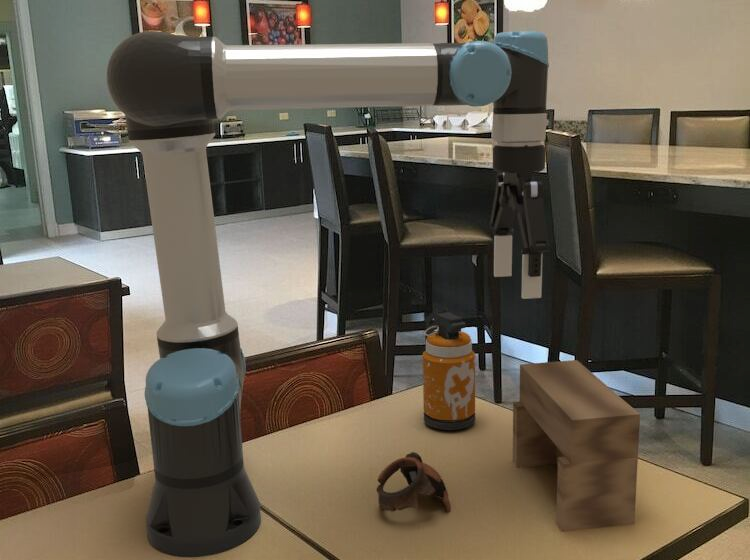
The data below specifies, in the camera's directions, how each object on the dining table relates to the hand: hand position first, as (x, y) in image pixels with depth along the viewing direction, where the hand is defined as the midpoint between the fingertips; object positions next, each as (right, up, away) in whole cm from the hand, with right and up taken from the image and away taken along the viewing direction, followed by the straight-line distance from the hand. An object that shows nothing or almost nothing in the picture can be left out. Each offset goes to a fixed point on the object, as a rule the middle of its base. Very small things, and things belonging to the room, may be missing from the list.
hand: (516, 286), depth 119 cm
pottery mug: (-14, -32, -6) cm, 35 cm away
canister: (-9, -24, +21) cm, 33 cm away
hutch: (+7, -30, -5) cm, 31 cm away
